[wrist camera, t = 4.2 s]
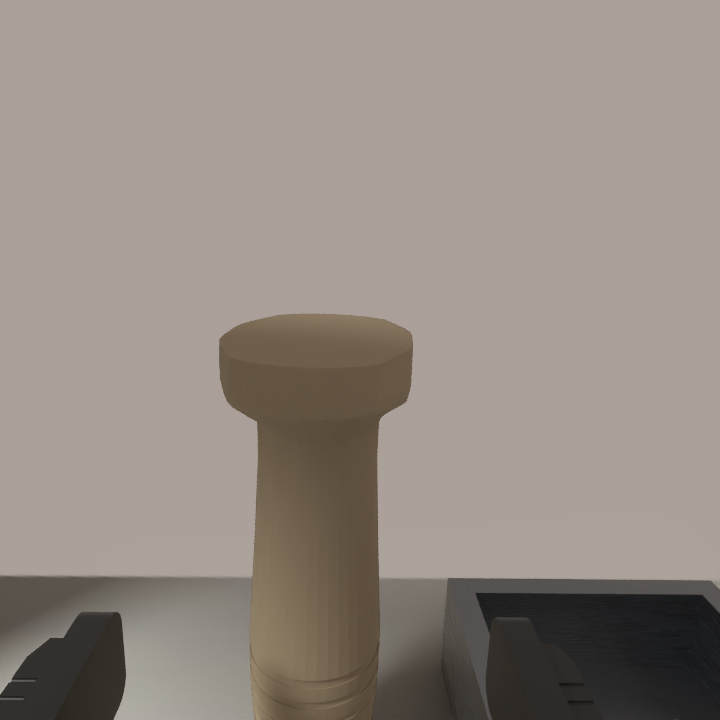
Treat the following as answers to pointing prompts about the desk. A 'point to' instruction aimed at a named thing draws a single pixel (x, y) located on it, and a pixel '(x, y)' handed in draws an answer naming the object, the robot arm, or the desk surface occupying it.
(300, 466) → the handle
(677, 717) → the grey square tray
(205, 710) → the desk surface
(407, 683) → the desk surface
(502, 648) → the robot arm
